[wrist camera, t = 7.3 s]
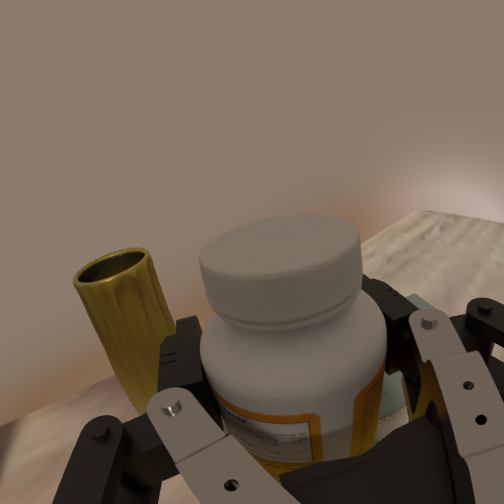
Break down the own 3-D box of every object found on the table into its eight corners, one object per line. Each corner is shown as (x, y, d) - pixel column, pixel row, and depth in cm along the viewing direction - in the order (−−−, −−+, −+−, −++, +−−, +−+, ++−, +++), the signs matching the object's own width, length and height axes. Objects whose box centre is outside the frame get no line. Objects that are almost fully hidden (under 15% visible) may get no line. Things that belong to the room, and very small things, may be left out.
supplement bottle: (337, 394, 14) (323, 196, 11) (395, 470, 9) (438, 239, 6) (233, 431, 13) (167, 236, 10) (266, 526, 8) (173, 324, 5)
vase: (173, 388, 27) (112, 246, 22) (230, 402, 24) (175, 242, 19) (135, 433, 22) (49, 285, 17) (194, 458, 19) (105, 291, 14)
